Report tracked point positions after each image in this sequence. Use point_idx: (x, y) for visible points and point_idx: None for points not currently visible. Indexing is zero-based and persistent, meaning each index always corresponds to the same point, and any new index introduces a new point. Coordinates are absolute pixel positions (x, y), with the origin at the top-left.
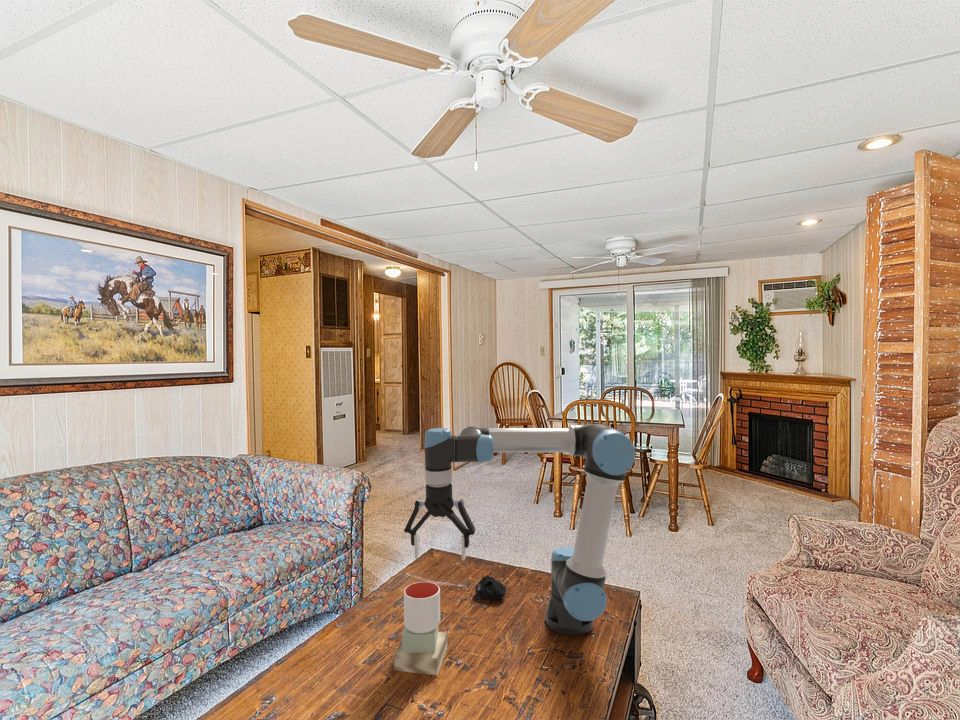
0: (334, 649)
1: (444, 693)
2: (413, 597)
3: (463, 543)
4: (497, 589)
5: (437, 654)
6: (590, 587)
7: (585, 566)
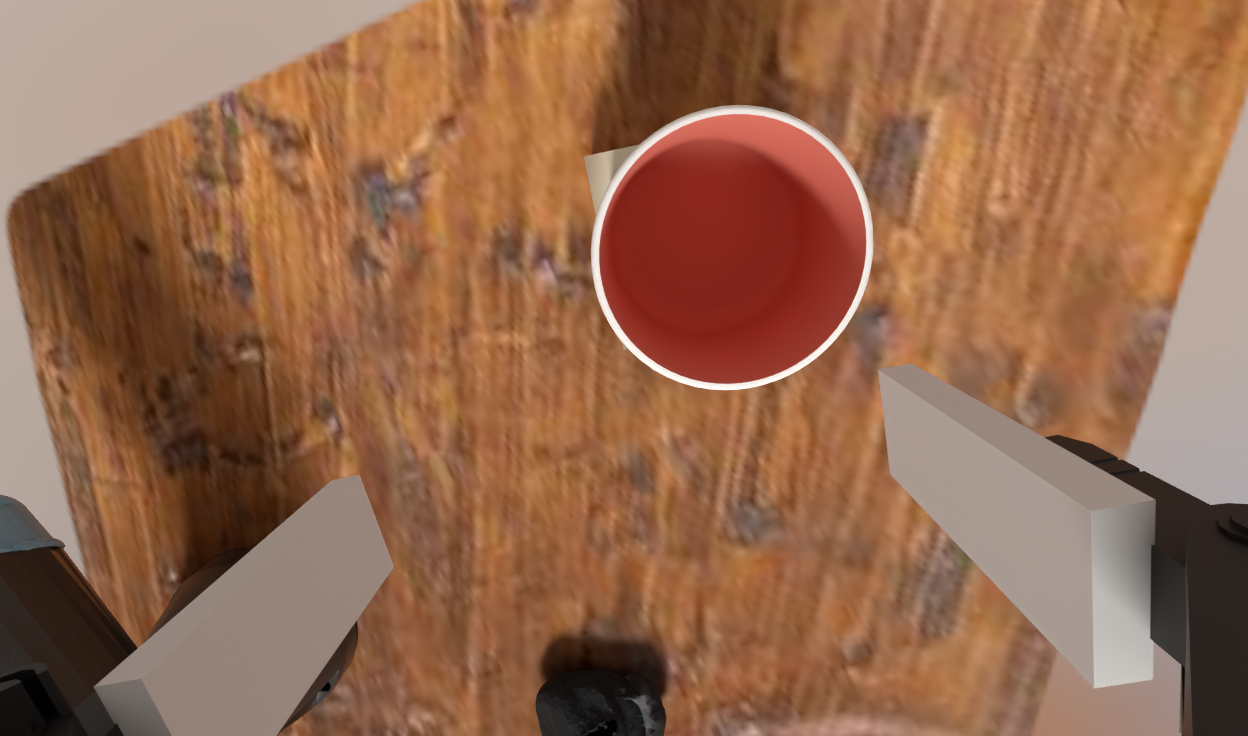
0: (1099, 151)
1: (518, 72)
2: (808, 306)
3: (193, 604)
4: (558, 712)
5: (595, 184)
6: None
7: None
